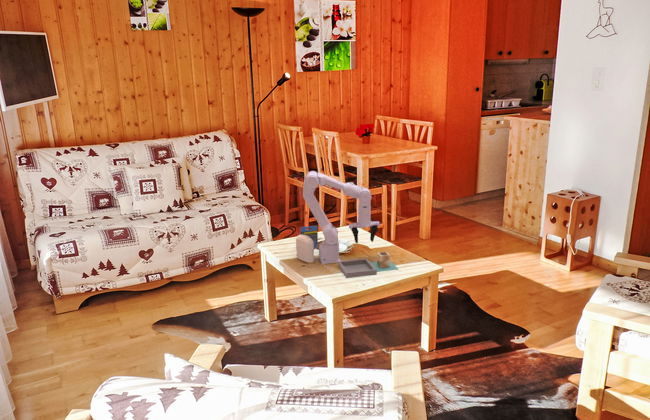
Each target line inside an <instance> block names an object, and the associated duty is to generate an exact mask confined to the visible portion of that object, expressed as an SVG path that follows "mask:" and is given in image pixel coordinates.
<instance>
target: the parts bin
mask: <svg viewBox="0 0 650 420" xmlns="http://www.w3.org/2000/svg"><path fill="white" fill-rule="evenodd" d="M370 262H371V261H370V260H369V259H368V258H357V259H349V260H348V259H347V260H341V261H338V262H337V266H338V268H339V269H340V271H341V272H342V274H343V275H344V276H345V278H347V279H348V278H356V277H365V276H372V275H374V276H375V275H378V274H377V273H378V272H377V270H376V268H375V267H374V266H373V265H372V264H371V263H370Z"/></svg>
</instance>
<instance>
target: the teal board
mask: <svg viewBox="0 0 650 420" xmlns="http://www.w3.org/2000/svg"><path fill="white" fill-rule="evenodd" d="M369 262H370V263H371V264H372V265H373V266H374V267H375V268H376V270H377V273H378V272H380V273H381V272H387V271H397V270H399V268H398V266H396V265H395V264H394V263H393V262H392V261H391V260H390V265H389V267H388V268H379V266H378V265H377V261H369Z"/></svg>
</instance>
